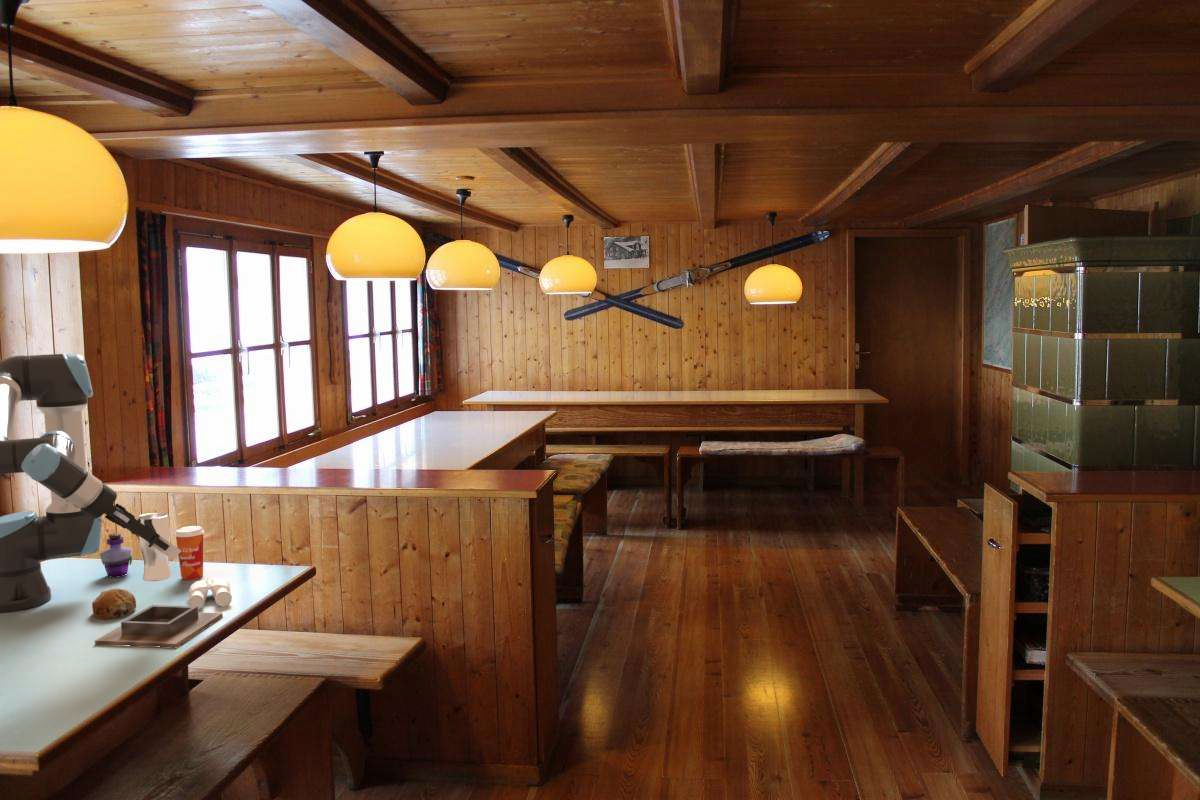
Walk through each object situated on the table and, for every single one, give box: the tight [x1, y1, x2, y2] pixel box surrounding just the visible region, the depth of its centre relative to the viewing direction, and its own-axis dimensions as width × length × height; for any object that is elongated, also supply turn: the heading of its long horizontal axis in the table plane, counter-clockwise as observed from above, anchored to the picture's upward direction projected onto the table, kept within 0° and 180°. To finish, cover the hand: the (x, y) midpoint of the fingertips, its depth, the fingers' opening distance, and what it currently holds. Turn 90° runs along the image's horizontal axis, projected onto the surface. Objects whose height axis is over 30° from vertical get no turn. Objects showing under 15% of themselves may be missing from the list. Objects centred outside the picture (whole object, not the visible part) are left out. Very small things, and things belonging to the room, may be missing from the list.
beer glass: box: [137, 512, 172, 582], centre depth 218 cm, size 7×7×15 cm
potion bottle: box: [99, 532, 133, 578], centre depth 265 cm, size 9×9×12 cm
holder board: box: [94, 604, 224, 648], centre depth 221 cm, size 20×20×4 cm
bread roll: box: [91, 587, 137, 620], centre depth 234 cm, size 10×10×8 cm
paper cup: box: [174, 525, 205, 581], centre depth 262 cm, size 8×8×14 cm
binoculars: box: [187, 576, 233, 610], centre depth 244 cm, size 10×16×5 cm, turn 23°
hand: (171, 552), depth 221 cm, fingers closed on beer glass, 7 cm apart
